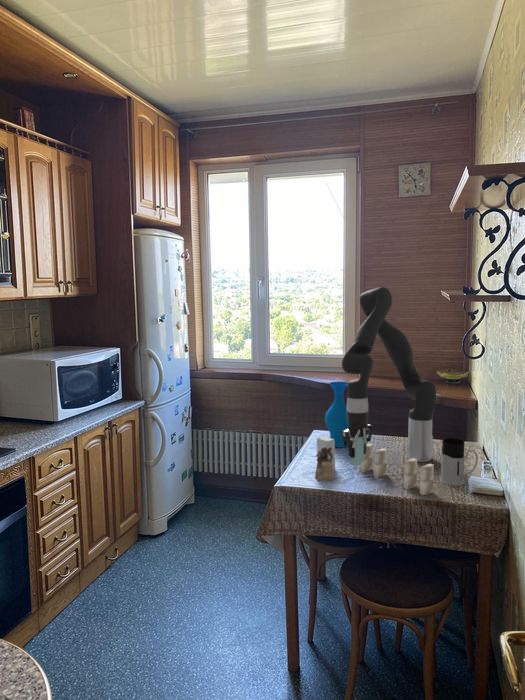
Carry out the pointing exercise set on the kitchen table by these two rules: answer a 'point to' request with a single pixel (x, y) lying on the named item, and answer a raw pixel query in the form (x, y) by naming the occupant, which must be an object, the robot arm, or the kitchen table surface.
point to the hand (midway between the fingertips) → (357, 455)
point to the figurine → (324, 465)
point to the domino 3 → (380, 462)
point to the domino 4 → (410, 473)
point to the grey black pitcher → (454, 462)
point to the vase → (337, 414)
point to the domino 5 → (426, 479)
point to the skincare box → (327, 446)
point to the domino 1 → (358, 452)
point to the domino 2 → (367, 459)
